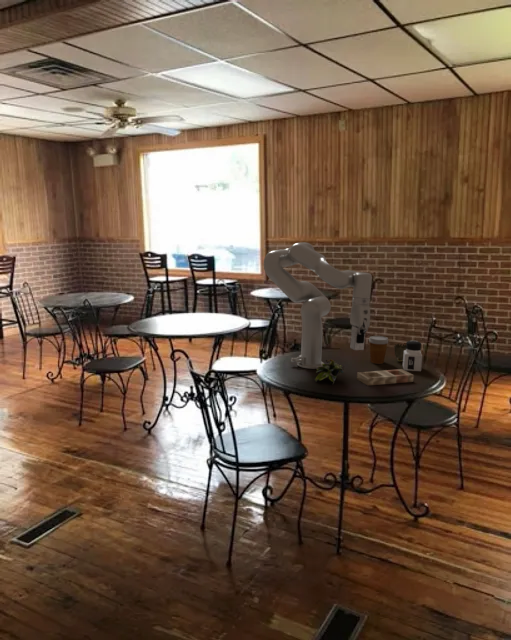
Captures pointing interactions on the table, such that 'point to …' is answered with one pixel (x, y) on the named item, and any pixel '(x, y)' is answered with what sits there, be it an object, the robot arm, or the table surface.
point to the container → (412, 356)
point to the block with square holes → (384, 377)
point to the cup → (399, 351)
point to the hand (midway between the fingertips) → (357, 341)
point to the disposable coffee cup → (378, 348)
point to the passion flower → (329, 370)
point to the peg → (354, 344)
